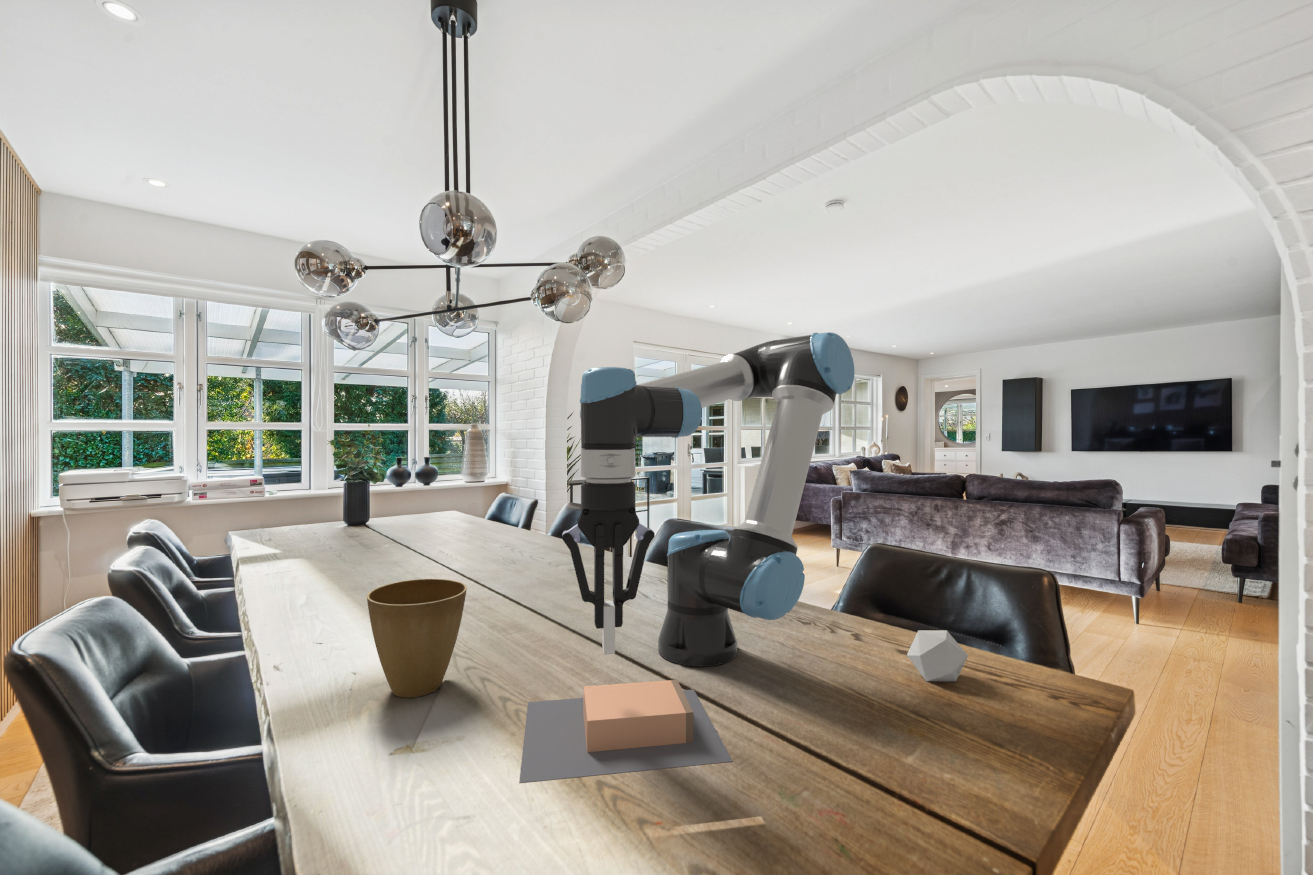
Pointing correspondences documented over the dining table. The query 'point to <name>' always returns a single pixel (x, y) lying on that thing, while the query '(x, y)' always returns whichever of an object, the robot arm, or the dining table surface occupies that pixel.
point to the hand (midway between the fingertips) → (608, 650)
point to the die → (937, 655)
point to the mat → (563, 750)
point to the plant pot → (416, 631)
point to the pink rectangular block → (636, 715)
